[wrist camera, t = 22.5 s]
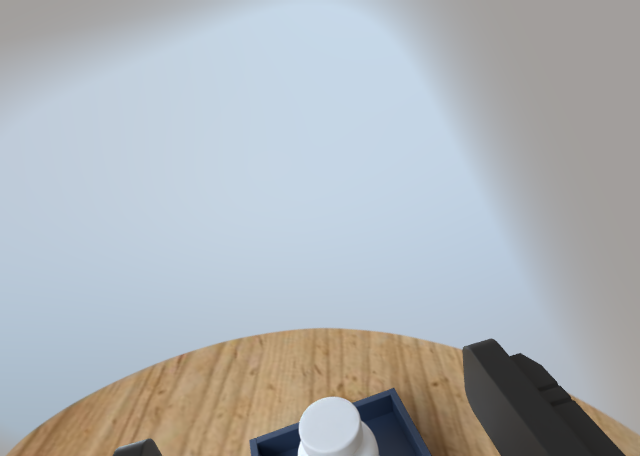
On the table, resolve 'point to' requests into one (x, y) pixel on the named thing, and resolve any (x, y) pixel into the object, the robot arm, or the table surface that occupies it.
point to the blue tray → (375, 411)
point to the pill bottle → (335, 430)
